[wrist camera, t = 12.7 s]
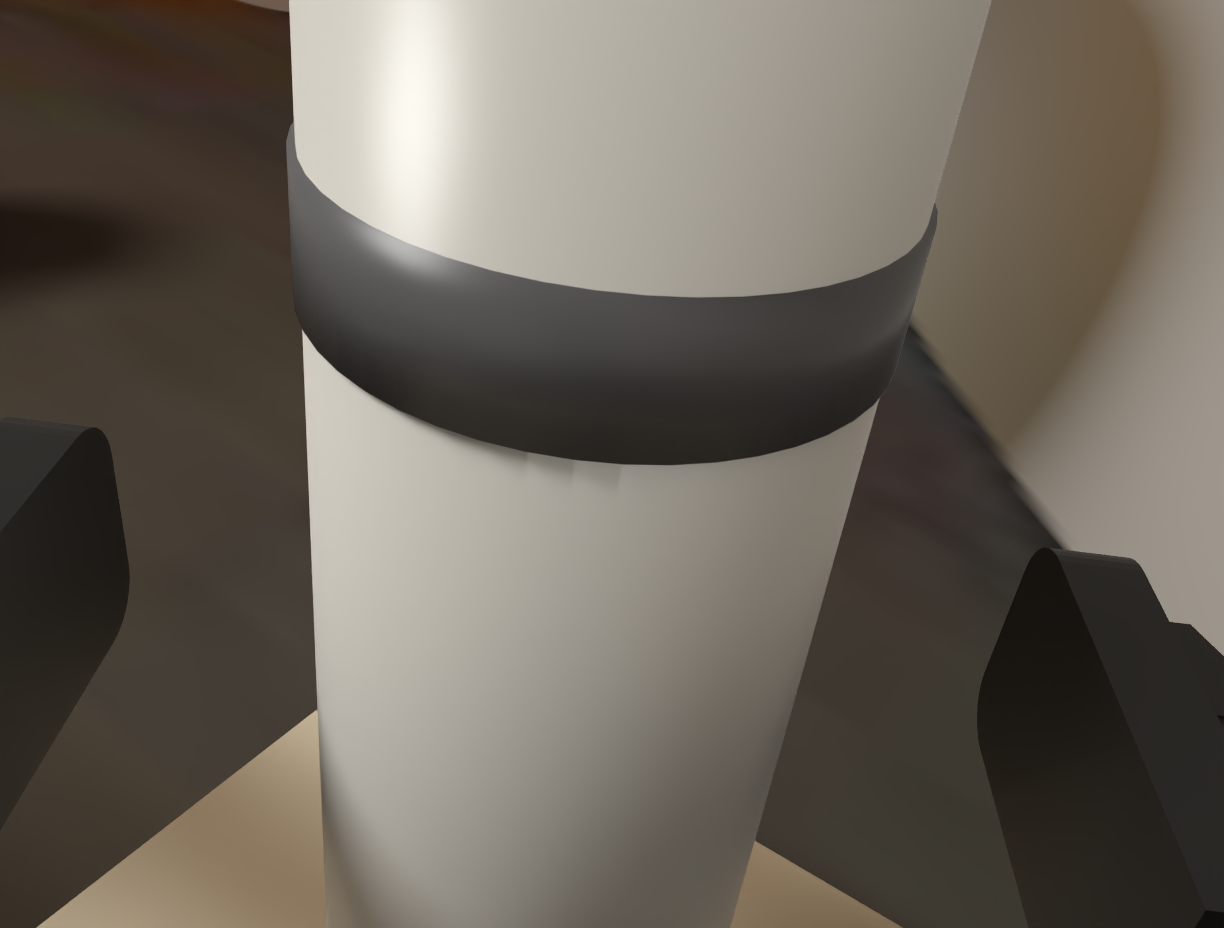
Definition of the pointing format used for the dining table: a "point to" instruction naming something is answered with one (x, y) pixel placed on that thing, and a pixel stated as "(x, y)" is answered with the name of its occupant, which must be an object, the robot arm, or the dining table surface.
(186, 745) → the dining table surface
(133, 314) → the dining table surface
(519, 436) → the white tall cylinder
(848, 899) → the socket board
